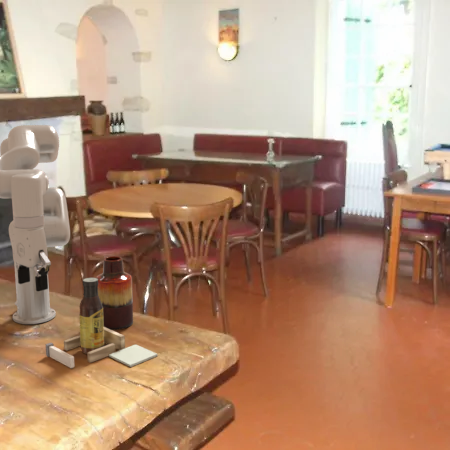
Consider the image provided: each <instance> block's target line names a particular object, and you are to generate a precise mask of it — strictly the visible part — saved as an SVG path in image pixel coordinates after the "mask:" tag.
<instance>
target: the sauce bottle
mask: <svg viewBox="0 0 450 450" xmlns="http://www.w3.org/2000/svg"><path fill="white" fill-rule="evenodd" d="M82 286H83V293H82V294H83V297H82V299H81V301H80V303H79V314H78V315H79V335H80V345H81V346H80V348H81V349H80V350H81V352H82V353H83V354H85V355H87V352H90V351H93V350H95V349H98V348H101V347H104V346H105V343H104V321H103V306H102V303H101V301H100V298H99V296H98V279H97V278H96V277H86V278H83V279H82Z"/></svg>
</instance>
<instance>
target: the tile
mask: <svg viewBox="0 0 450 450" xmlns="http://www.w3.org/2000/svg"><path fill="white" fill-rule="evenodd" d="M108 357H109V358H112V359H113V360H115V361H117V362H119V363H121V364H124V365H125V366H127V367H130V368H132V367H134V366H137V365H139V364H141V363H144V362H147V361H149V360H151V359H154V358H156V357H158V353H156V352H155V351H152V350H150V349H147V348H145V347H143V346H140V345H138V344H132V345H131V346H128V347H125V349H122V350H117V351H115V352H114V353H112V354H109V356H108Z"/></svg>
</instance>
